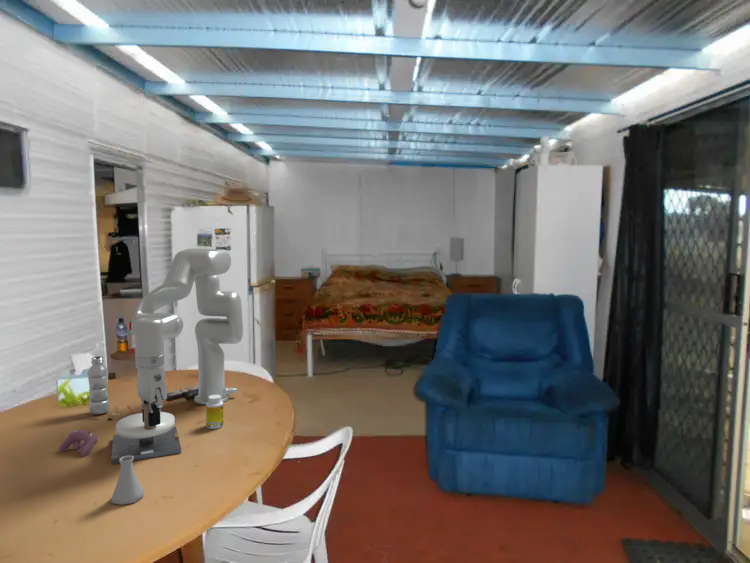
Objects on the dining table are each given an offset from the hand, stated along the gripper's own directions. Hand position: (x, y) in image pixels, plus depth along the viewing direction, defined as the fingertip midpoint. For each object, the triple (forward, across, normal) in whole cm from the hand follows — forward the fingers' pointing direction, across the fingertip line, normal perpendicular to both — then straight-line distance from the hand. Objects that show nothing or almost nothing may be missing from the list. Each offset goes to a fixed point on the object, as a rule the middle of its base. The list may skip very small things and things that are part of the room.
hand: (151, 422), depth 145 cm
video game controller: (+10, +16, +14) cm, 24 cm away
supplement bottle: (+9, +6, -23) cm, 26 cm away
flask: (+9, -20, +14) cm, 27 cm away
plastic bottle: (+9, +45, 0) cm, 46 cm away
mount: (+9, +6, -1) cm, 11 cm away
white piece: (+3, +6, -1) cm, 7 cm away
